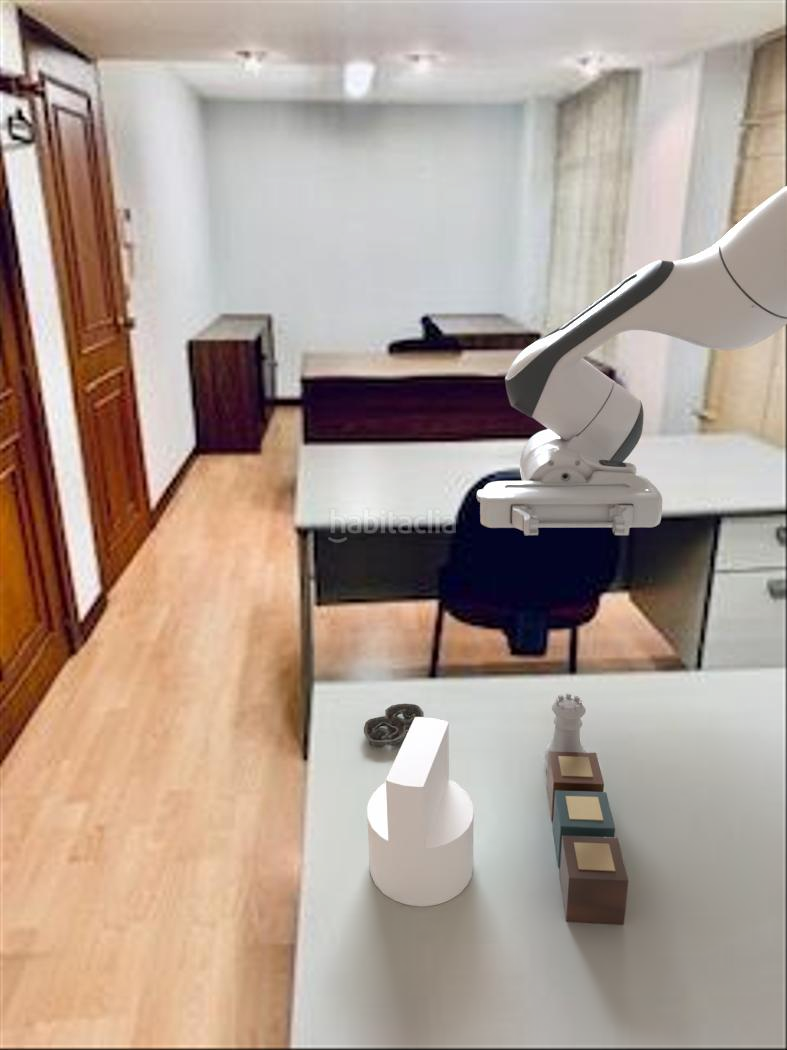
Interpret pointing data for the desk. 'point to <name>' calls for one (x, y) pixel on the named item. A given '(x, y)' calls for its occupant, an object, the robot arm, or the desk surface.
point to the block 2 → (593, 880)
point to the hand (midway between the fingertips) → (576, 528)
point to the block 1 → (572, 774)
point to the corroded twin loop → (392, 724)
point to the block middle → (581, 816)
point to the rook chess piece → (566, 726)
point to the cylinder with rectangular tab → (421, 822)
